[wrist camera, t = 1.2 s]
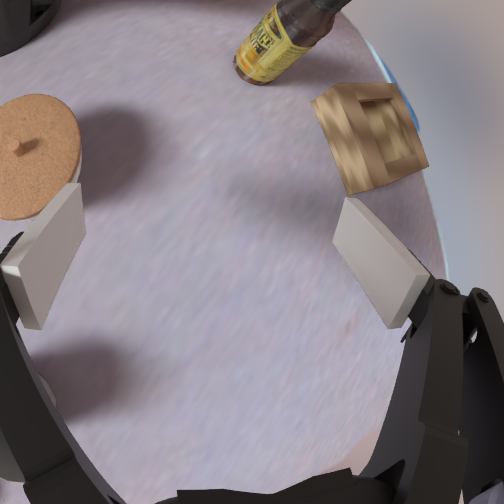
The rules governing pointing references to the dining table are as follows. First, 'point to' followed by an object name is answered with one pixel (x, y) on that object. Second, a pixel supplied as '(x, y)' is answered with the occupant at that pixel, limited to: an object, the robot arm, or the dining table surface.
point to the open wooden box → (369, 134)
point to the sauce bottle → (284, 37)
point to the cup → (3, 461)
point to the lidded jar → (36, 154)
